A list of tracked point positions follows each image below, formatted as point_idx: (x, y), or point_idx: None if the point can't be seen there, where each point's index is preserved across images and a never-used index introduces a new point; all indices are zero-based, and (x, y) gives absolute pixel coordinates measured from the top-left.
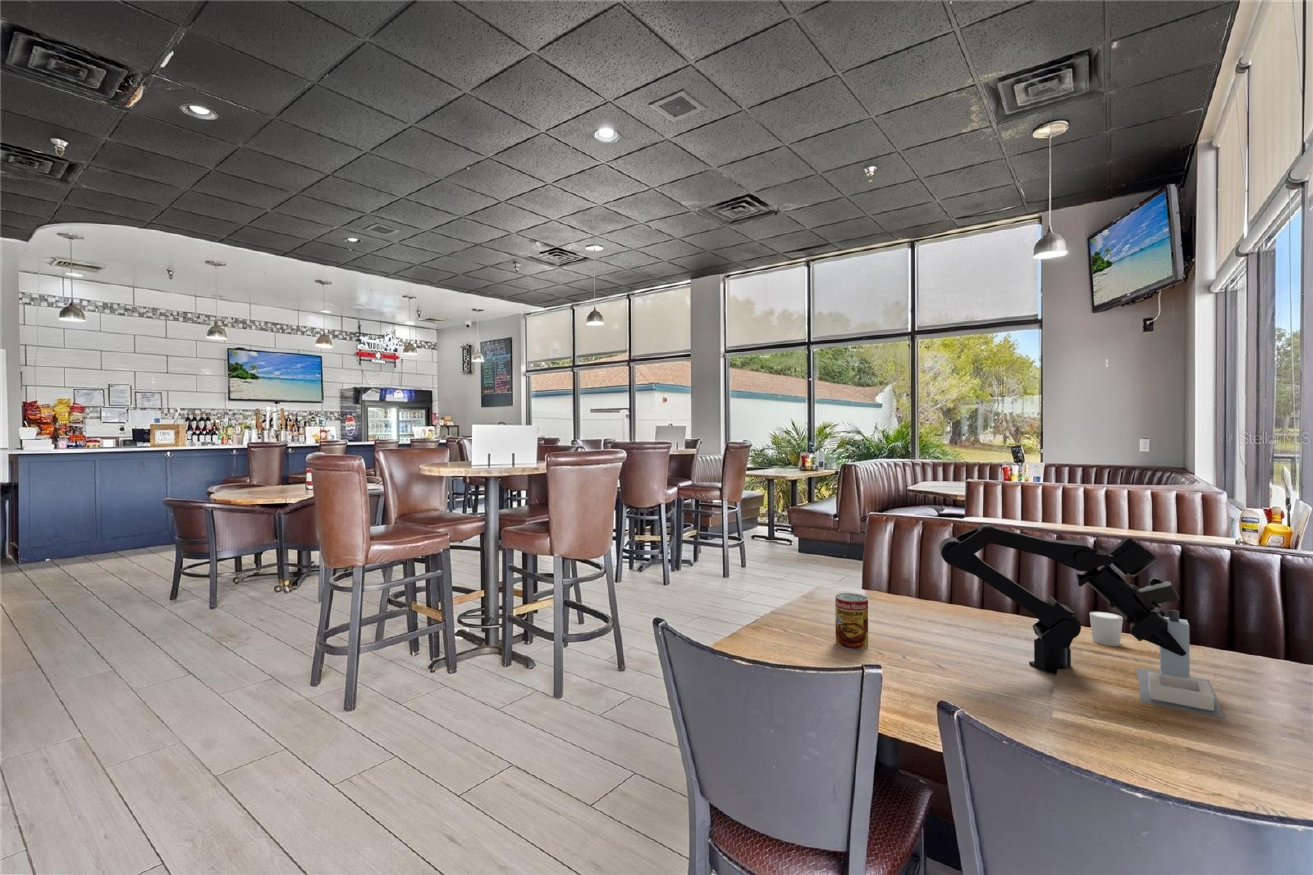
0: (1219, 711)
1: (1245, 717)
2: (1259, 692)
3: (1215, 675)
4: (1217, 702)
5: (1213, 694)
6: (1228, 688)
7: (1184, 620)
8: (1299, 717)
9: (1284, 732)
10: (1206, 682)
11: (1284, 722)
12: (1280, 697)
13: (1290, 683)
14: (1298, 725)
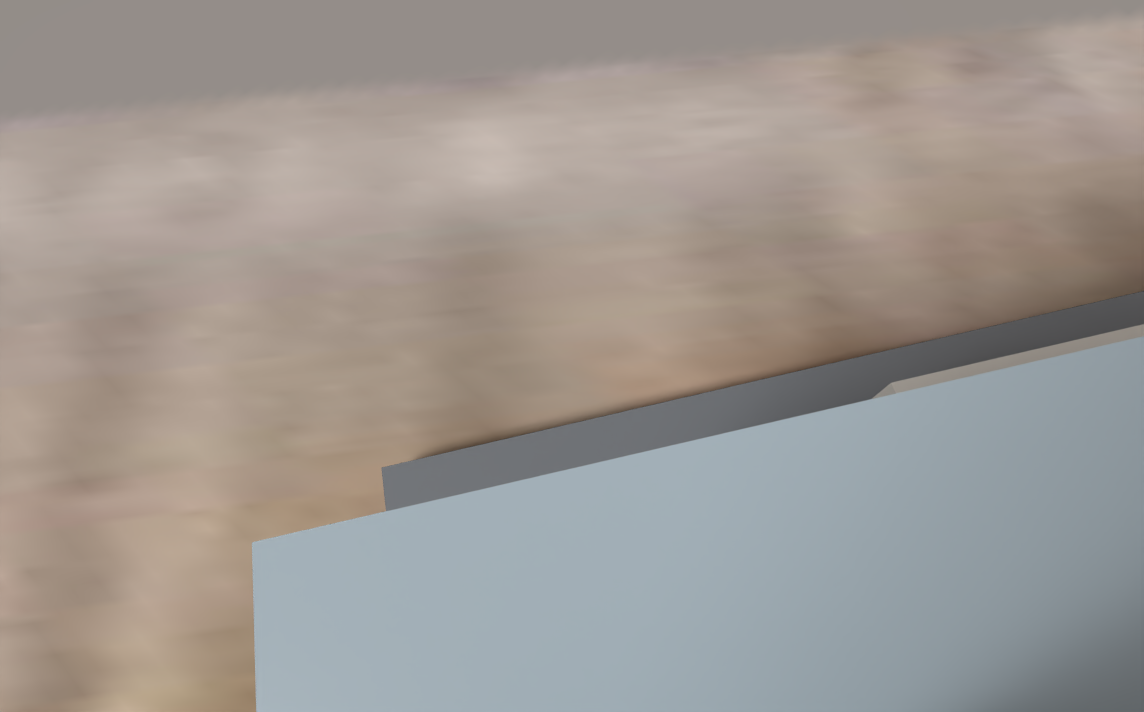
0: (1110, 319)
1: (925, 236)
2: (332, 242)
3: (112, 475)
4: (912, 354)
5: (735, 398)
6: (380, 374)
7: (471, 603)
8: (651, 73)
9: (990, 88)
10: (925, 381)
11: (811, 105)
12: (351, 162)
13: (32, 159)
14: (797, 63)
